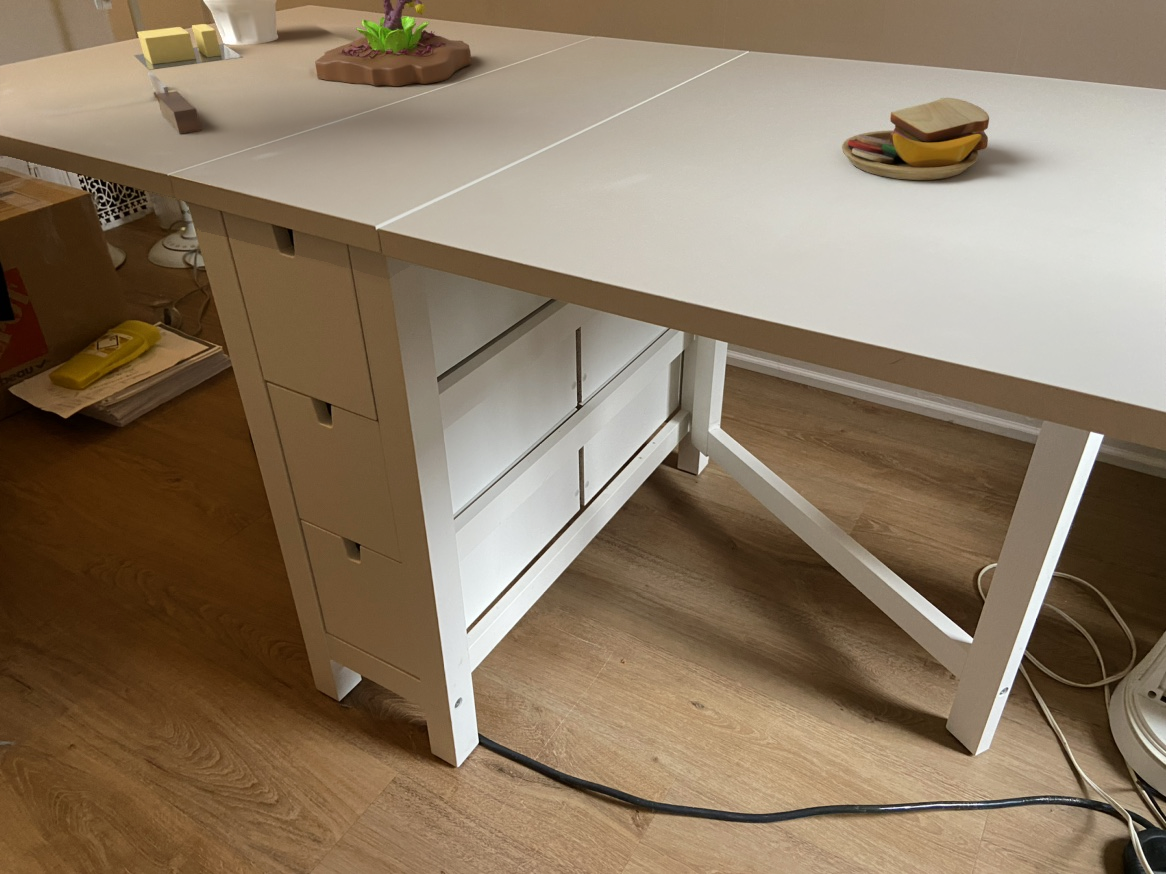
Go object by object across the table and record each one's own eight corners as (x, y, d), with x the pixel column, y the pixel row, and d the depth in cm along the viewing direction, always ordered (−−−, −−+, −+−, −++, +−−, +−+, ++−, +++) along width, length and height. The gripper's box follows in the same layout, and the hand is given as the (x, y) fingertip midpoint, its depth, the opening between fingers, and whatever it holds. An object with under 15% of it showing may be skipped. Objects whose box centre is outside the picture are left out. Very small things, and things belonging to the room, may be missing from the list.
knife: (201, 130, 99) (194, 103, 98) (179, 134, 98) (172, 106, 97) (166, 95, 113) (159, 70, 112) (146, 97, 112) (139, 73, 111)
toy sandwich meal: (823, 145, 89) (829, 97, 87) (951, 139, 90) (961, 91, 88) (867, 187, 79) (875, 133, 76) (1010, 179, 80) (1024, 126, 77)
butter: (152, 64, 124) (144, 38, 122) (144, 57, 128) (137, 31, 126) (196, 59, 126) (189, 32, 124) (187, 52, 131) (180, 26, 129)
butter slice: (207, 57, 127) (200, 31, 125) (198, 50, 131) (191, 25, 129) (221, 55, 128) (215, 29, 126) (211, 48, 132) (205, 23, 130)
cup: (291, 50, 135) (275, -31, 128) (206, 56, 132) (185, -26, 126) (294, 35, 145) (279, -41, 138) (215, 41, 142) (196, -36, 136)
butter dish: (151, 77, 122) (148, 69, 121) (135, 62, 130) (133, 55, 130) (245, 64, 127) (243, 56, 127) (224, 50, 136) (223, 43, 135)
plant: (366, 51, 133) (353, -32, 126) (486, 56, 128) (480, -30, 122) (296, 83, 117) (278, -10, 111) (431, 89, 113) (420, -7, 106)
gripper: (-8, -143, 81) (49, 19, 89) (217, -154, 90) (251, -4, 98) (-12, -144, 86) (43, 11, 94) (203, -154, 94) (236, -11, 102)
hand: (151, 3), depth 96 cm, fingers open, 8 cm apart
